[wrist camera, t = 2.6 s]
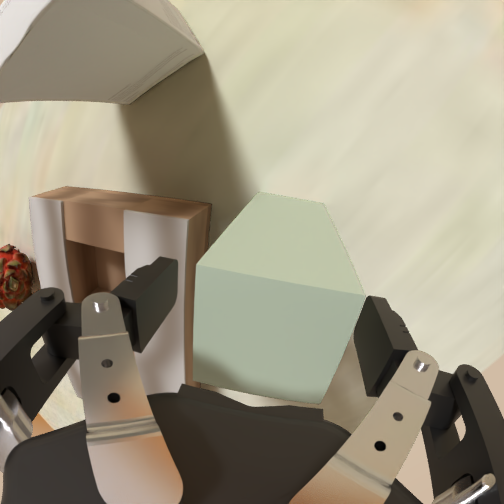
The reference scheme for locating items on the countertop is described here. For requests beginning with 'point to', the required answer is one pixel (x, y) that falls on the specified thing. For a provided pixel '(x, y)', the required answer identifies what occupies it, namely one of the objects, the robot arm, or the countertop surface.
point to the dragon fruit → (14, 278)
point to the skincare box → (90, 49)
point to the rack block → (124, 263)
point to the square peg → (275, 302)
